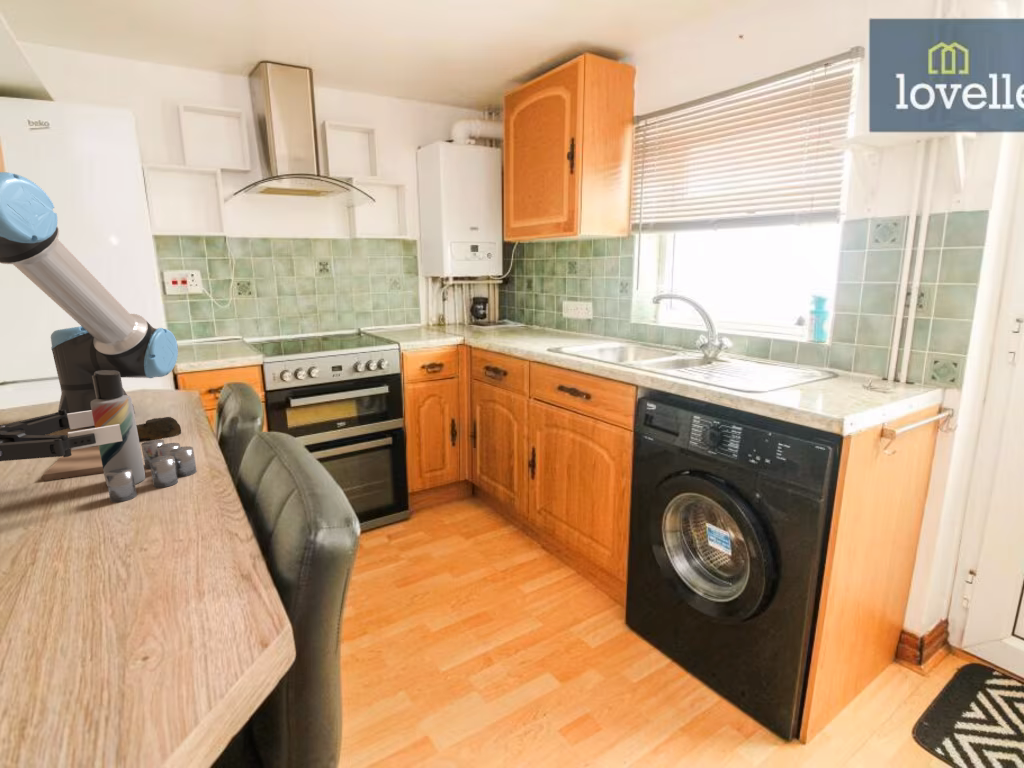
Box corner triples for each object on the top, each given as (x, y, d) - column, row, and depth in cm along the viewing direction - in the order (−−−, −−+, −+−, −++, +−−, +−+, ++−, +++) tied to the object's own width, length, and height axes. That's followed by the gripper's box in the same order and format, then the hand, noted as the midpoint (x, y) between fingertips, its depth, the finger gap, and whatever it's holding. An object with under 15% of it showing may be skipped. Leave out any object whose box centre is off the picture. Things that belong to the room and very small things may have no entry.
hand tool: (72, 453, 110) (68, 432, 109) (77, 447, 114) (73, 426, 113) (180, 439, 119) (177, 419, 118) (181, 434, 122) (178, 414, 121)
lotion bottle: (119, 476, 98) (98, 367, 93) (152, 474, 98) (133, 367, 94) (98, 489, 92) (75, 374, 88) (133, 487, 93) (112, 373, 88)
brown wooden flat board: (68, 455, 109) (67, 450, 108) (134, 447, 113) (133, 441, 113) (44, 481, 96) (42, 474, 96) (118, 470, 101) (117, 464, 100)
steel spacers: (131, 465, 103) (127, 443, 102) (201, 456, 107) (197, 434, 106) (107, 503, 87) (102, 477, 86) (190, 490, 91) (186, 465, 90)
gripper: (-41, 453, 90) (115, 427, 103) (-67, 503, 71) (128, 464, 84) (-52, 409, 88) (108, 388, 101) (-83, 449, 69) (119, 417, 82)
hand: (117, 422), depth 93 cm, fingers open, 13 cm apart
